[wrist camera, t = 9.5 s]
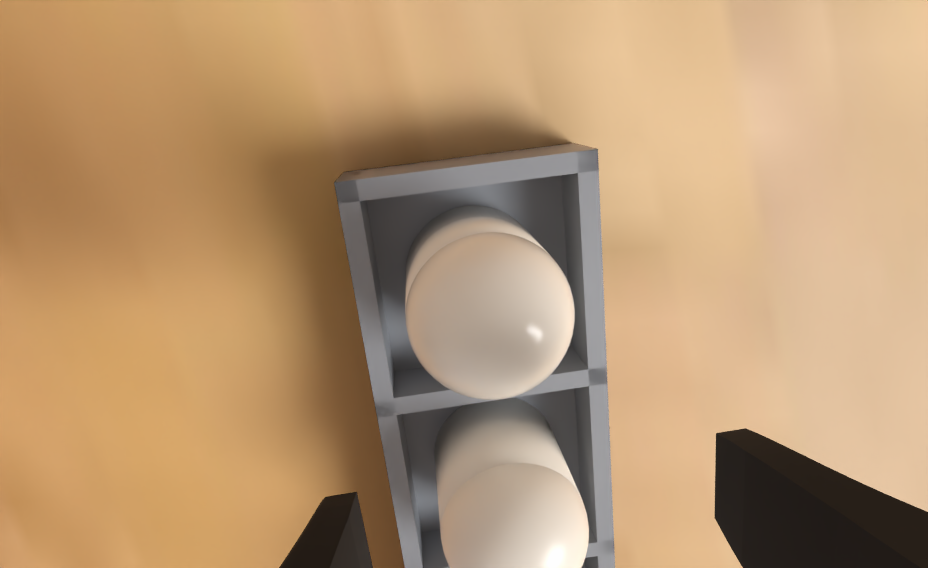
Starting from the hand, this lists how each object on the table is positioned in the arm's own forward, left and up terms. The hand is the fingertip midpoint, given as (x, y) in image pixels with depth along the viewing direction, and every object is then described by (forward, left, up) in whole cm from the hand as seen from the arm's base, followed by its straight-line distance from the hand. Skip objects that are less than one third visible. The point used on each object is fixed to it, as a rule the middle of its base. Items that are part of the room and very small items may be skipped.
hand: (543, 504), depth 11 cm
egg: (0, +2, -9) cm, 9 cm away
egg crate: (0, -5, -9) cm, 10 cm away
